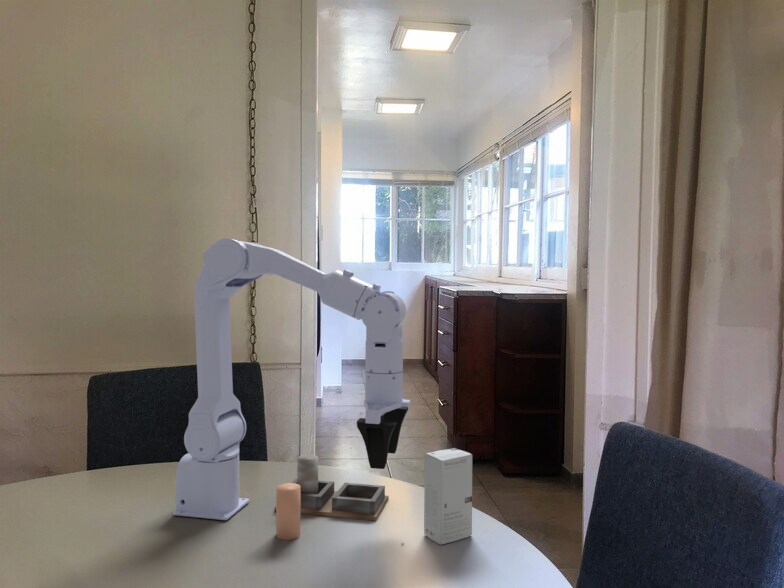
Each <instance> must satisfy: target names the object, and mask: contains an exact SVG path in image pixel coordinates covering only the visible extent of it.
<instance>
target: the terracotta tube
mask: <svg viewBox="0 0 784 588" xmlns="http://www.w3.org/2000/svg"><path fill="white" fill-rule="evenodd" d="M275 489H276V490H275V491H276V492H275V493H276V495H275V496H276V497H275V499H276V501H275V504H276V505H275V506H276V511H275V515H276V516H275V524H276V525H275V527H276V528H275V535H276V536H275V537H276V538H277V539H278V540H282V541H289V540H294V539H297V538H299V537H300V536H301V513H300V485H299V484H295V483H291V482H287V483H281V484H278V485H277V486H276V488H275Z"/></svg>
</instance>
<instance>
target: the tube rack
mask: <svg viewBox="0 0 784 588" xmlns="http://www.w3.org/2000/svg"><path fill="white" fill-rule="evenodd" d="M296 460H297V461H296V464H297V465H296V467H297V468H296V469H297V470H296V473H297V474H296V475H297V476H296V477H297V478H295V479H293V480H292V481H291V482H290V483H295V484H299V485H300V515H301V514H302V515H303V514H304V515H311V516H312V515H314V516H321V517H322V516H325V517H334V518H345V519H354V520H366V521H375V522H376V521H377V520H378V518H379V516H380V515H381V513H382V512H383V509H384V508H385V506H386V504H387V503H388V501H389V500H390V499H389V495H386V486H385V485H378V484H367V483H366V484H365V483H353V482H344V483H343V484H342V485H341V486H340V488H339V489H338V490H337V491H336V490H335V481H329V480H328V481H327V480H319V456H318V455H316V454H303V455H299V456H297V459H296ZM274 512H276V505H275V506H274Z"/></svg>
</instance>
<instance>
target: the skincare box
mask: <svg viewBox="0 0 784 588" xmlns="http://www.w3.org/2000/svg"><path fill="white" fill-rule="evenodd" d="M423 490H424V492H423V493H424V501H423V502H424V503H423V504H424V505H423V510H424V512H423V517H424V518H423V534H424V536H426V537H427V538H429V539H430V540H432V541H433V542H434V543H436V544H438V545H439V546H440V545H445V544H448V543H452V542H456V541H460V540H462V539H467V538H469V537H471V536H472V535H473V454H472V453H470V452H468V451H465V450H461V449H458V448H456V447H453V448H447V449H439V450H436V451H435V450H434V451H432V452H431V451H430V452H425V454H424V489H423Z"/></svg>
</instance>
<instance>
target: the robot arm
mask: <svg viewBox="0 0 784 588" xmlns="http://www.w3.org/2000/svg"><path fill="white" fill-rule="evenodd" d="M202 259H203V260H202V261H203V264H202V268H201V270H200V272H199V274H198V277H197V279H196V282H195V284H194V288H193V297H194V298H193V299H194V324H195V325H194V327H195V328H194V329H195V348H196V349H195V351H196V352H195V353H196V373H197V399H196V400H195V402H194V404H193V405H192V407H191V408H190V411H189V413H188V423H187V424H188V425H187V427H186V429H185V432H184V436H183V443H184V446H185V449H186V451H187V453H186V454H184V455H183V456H182V457H181V458H180V460H179V462H178V463H177V467H176V472H175V510H174V511H173V512H172V515H173V516H178V517H181V516H182V517H189V518H202V519H208V520H209V519H210V520H211V519H212V520H220V521H221V520H222V521H227V520H229V519H230V518H231V517H232V516H234V515H235V514H236V513H238V512H239V511H240V510H241V509H242V508H244V506H245V505H247V504H248V503H250V498H244V497H243V498H242V497H240V442H241V441H243V439H244V438H245V436H246V433H247V422H246V419H245V417H244V416H243V413H242V407H241V402H240V400H239V398H237V396H236V395H235V394H234V385H233V384H234V383H233V364H232V363H233V362H232V361H233V359H232V357H233V356H232V340H231V339H232V337H231V333H232V332H231V331H232V330H231V312H230V311H231V309H230V299H231V298H232V297H233V296H234V295H236V294H237V292H239V291H240V290H241V289H242V288H243V287H245V286H247V285H248V284H251V283H252V282H255V281H257V280H259V279H260V278H262V277H263V276H265V275H267V276H268V275H269V276H272V275H276V276H278V277H281V278H283V279H286V280H289V281H291V282H293V283H295V284H298V285H301V286H302V287H305V288H307V289H309V290H312V291H315V292H317V293H318V296H319V299H320V300H321V303H322V304H323V305H325V306H328V307H330V308H332V309H334V310H337V311H338V312H340V313H342V314H345V315H347V316H349V317H351V318H353V319H356V320H358V321H360V320H361V322H362V323H363V324H364V326H365V328H366V329H365V331H366V332H365V336H366V337H365V339H366V340H365V362H364V363H365V373H364V374H365V376H364V377H365V379H364V381H365V385H364V386H365V389H364V390H365V391H364V394H365V395H364V397H365V398H364V400H363V406H364V409H365V417H364V418H363V417H359V419H357V420H356V427H357V429H358V431H359V433H360V435H361V437H362V439H363V442H364V447H365V451H366V454H367V460H368V464H369V467H370V469H376V470H377V469H378V470H385V468H386V466H387V460H388V456H389V454H393V455H394V454H396V452H397V450H398V449H397V448H398V444H399V440H400V439H399V438H400V434H401V429H402V426H403V422H404V419H405V417H406V415H407V412H408V411H409V407H410V405H411V400H410V399H404V398H403V397H404V395H403V393H404V390H403V387H404V386H403V385H404V384H403V381H404V379H403V377H404V376H403V375H404V340H403V332H404V331H403V325H402V322H403V321H404V320H405V319H406V313H407V307H406V304H405V302H404V300H403V299H402V297H400V295H398V294H396V293H395V291H390V290H386V291H385V290H384V291H381V288H382V286H381V285H380V284H377V283H373V284H370V283H368V282H366V281H363V280H362V279H360V278H357V277H355V276H354V274H355V273H354V272H353V271H351V270H349V269H344V270H343V271H341V270H340V269H338V270H333V271H331V272H329V273H326V272H324V271H321V270H320V269H318V268H316V267H314V266H312V265H309V264H308V263H306V262H303V261H302V260H300V259H298V258H296V257H293V256H292V255H290V254H288V253H286V252H283V251H282V250H279V249H276V248H273V247H270V246H265V245H262V244H260V243H257V242H252V241H250V242H247V241H240V240H236V239H233V238H228V237H226V238H221V239H219V240H216V241H215V242H214V243H213V244H212V245H211V246H209V247H208V249H206V250H205V251H204V252H203V255H202Z"/></svg>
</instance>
